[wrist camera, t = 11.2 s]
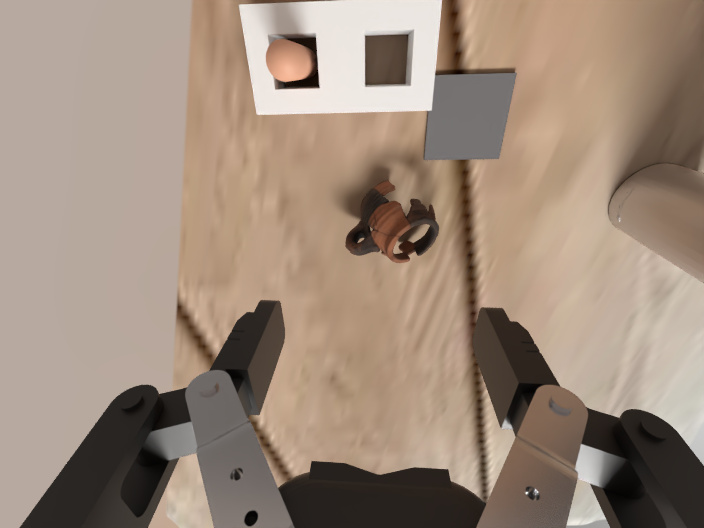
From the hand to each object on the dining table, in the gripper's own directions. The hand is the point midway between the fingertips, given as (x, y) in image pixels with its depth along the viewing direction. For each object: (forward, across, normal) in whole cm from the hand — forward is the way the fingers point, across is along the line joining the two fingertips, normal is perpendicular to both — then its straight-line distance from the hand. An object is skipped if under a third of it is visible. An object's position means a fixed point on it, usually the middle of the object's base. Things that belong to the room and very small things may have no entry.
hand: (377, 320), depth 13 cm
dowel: (+31, +8, -10) cm, 33 cm away
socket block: (+31, +4, -10) cm, 33 cm away
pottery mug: (+32, -2, +9) cm, 33 cm away
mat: (+31, -10, -4) cm, 33 cm away
